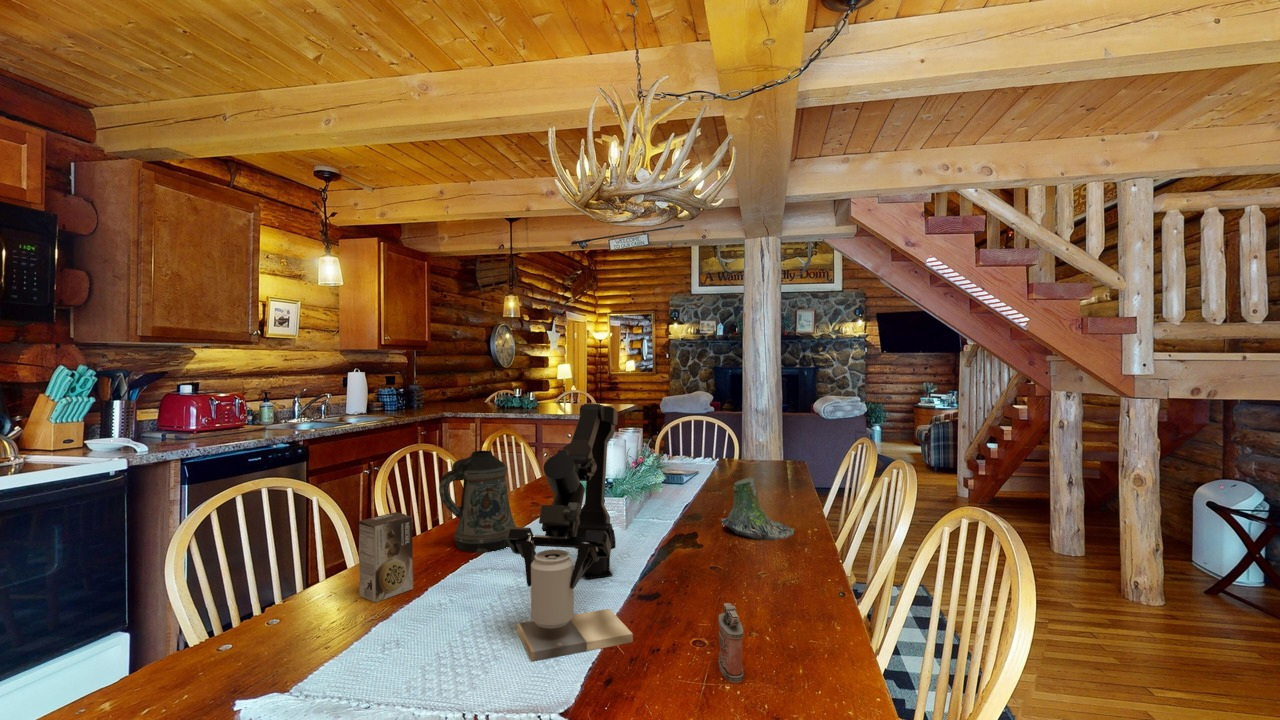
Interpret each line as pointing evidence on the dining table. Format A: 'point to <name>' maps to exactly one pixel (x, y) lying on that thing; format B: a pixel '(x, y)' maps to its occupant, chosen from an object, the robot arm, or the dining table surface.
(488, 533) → the beer stein
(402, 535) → the coffee box
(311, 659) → the dining table surface
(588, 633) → the subfloor panel
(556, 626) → the can
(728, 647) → the lighter
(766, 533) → the tree stump
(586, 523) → the robot arm
